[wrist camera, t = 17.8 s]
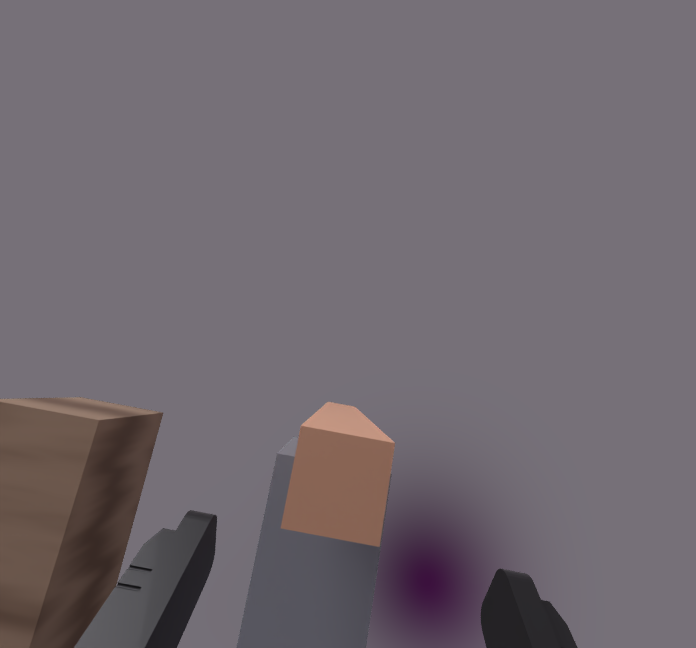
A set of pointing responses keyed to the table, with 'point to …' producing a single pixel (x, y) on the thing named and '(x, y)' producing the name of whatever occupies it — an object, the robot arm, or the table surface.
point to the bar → (339, 477)
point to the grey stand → (306, 581)
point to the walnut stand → (66, 511)
